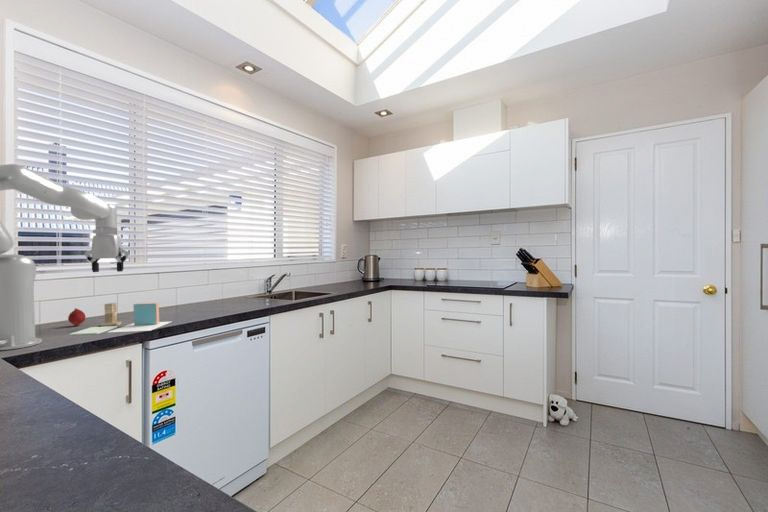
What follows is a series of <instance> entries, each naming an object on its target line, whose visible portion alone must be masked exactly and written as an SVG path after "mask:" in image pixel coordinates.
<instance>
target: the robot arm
mask: <svg viewBox="0 0 768 512" xmlns="http://www.w3.org/2000/svg"><path fill="white" fill-rule="evenodd" d="M5 190H6V191H7V190H9V191H10V190H14V191H18V192H20V193H22V194H25V195H26V196H29V197H31V198H33V199H36V200H37V201H41V202H42V203H44V204H50V205H53V206H61V207H69V208H70V214H71V215H72V216H73V217H75V219H79V220H82V221H83V220H85V221H87V220H94V221H95V222H94V223H95V224H94V225H95V228H94V229H93V230H92V233H93V234H95V235H93V236H92V242H91V248H90V250H88V251H85V253H84V256H85V257H86V259H87V260H88V261H89V262H90V263H91V270H92V273H99V272H100V264H99V262H98V261H100V259H115V260H116V261H117V262H116V272H118V273H119V272H123V271H124V262H126V260H128V257H129V256H130V251H127V250H126V249H123V248H122V242H121V238H120V236H119V235H118V211H117V210H118V209H117V206H116V205H114V204H112V203H107V202H105V201H104V200H103V199H101V198H99V197H98V196H95V195H94V194H91V193H89V192H86V191H83V190H80V189H77V188H74V187H70V186H68V185H65V184H61V183H58V182H56V181H55V180H54V181H53V180H52V179H50V178H48V177H46V176H44V175H43V174H40V173H38V172H37V171H34V170H32V169H30V168H28V167H26V166H24V165H21V164H18V163H17V164H16V163H15V164H14V163H11V164H9V163H8V164H0V192H1V191H5ZM13 246H14V239H13V237H12V235H11V233H9V231H8V229H7V228H6V226H5V225H4V223H3V222H2V220H0V351H8V350H10V351H11V350H17V349H22V348H28V347H32V346H36V345H39V344H42V341H43V339H42V338H40V337H36V321H35V320H36V319H35V316H36V315H35V299H34V298H35V297H34V295H35V294H34V293H35V292H34V291H35V290H34V287H35V279H36V275H37V266H36V265H37V264H35V261H34V260H33V259H32V258H30V257H29V256H26V255H23V254H5V253H7V252H9V251H10V250H11V249H12V248H13Z"/></svg>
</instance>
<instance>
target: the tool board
mask: <svg viewBox="0 0 768 512" xmlns="http://www.w3.org/2000/svg"><path fill="white" fill-rule="evenodd" d="M115 329H118V325H112V326H91V327H88V328H84V329H81V330H78V331H74V332H72V333H69V334H68V335H69V336H80V335H81V336H83V335H85V336H86V335H98V334H101V333H104V332H109V331H112V330H115Z"/></svg>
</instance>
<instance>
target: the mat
mask: <svg viewBox="0 0 768 512" xmlns="http://www.w3.org/2000/svg"><path fill="white" fill-rule="evenodd" d="M170 323H171V321H159V324H157V325H136V326H134V322H133V323H130V324H127V325H124V326H121V327H117V328H114V329H111V330H108V333H124V332H125V333H127V332H128V333H129V332H130V333H131V332H149V331H150V332H151V331H153V330H155V329H158V328H160V327H163V326H165V325H167V324H170Z"/></svg>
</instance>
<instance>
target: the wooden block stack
mask: <svg viewBox="0 0 768 512" xmlns="http://www.w3.org/2000/svg"><path fill="white" fill-rule="evenodd" d="M117 309H118V307H117V302H108V303H104V322H101V323H100V324H101V325H100V327H109V326H119V325H121V324H122V321H121V320H120V321H119V320H118V310H117Z"/></svg>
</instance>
